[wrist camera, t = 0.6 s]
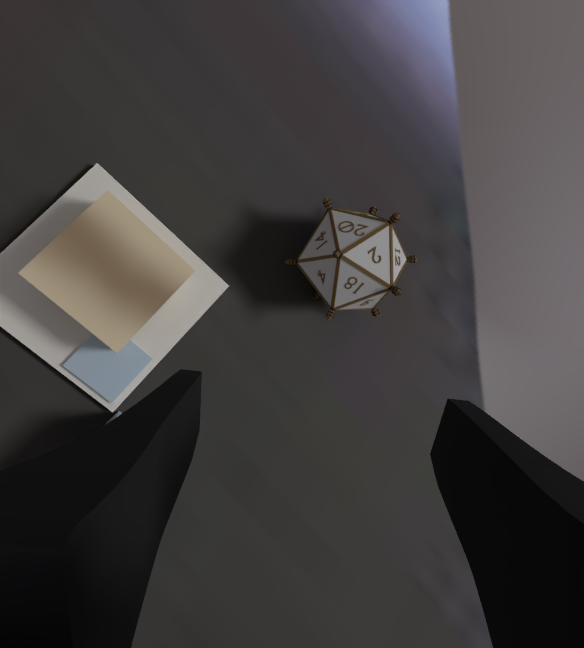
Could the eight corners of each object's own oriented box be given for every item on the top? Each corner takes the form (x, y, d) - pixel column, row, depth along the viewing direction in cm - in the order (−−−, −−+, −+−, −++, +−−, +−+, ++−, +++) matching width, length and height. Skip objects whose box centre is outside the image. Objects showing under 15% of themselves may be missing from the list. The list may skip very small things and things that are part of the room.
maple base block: (119, 350, 29) (117, 353, 26) (32, 279, 28) (18, 272, 24) (189, 276, 31) (195, 270, 28) (111, 205, 29) (107, 189, 26)
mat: (113, 410, 30) (112, 413, 29) (-39, 293, 27) (-45, 293, 26) (227, 286, 32) (229, 285, 32) (98, 166, 30) (96, 161, 29)
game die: (295, 279, 38) (245, 272, 29) (349, 193, 36) (315, 155, 27) (380, 338, 36) (356, 352, 26) (442, 250, 34) (441, 231, 24)
